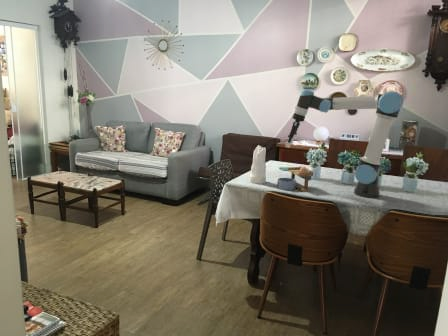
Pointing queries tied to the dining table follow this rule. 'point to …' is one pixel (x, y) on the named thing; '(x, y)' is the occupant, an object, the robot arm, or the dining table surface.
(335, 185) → the dining table surface
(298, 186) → the pivot stand
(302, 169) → the rubber ball
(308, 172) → the tipping tray
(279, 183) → the grey round container
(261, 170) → the decorative vase
